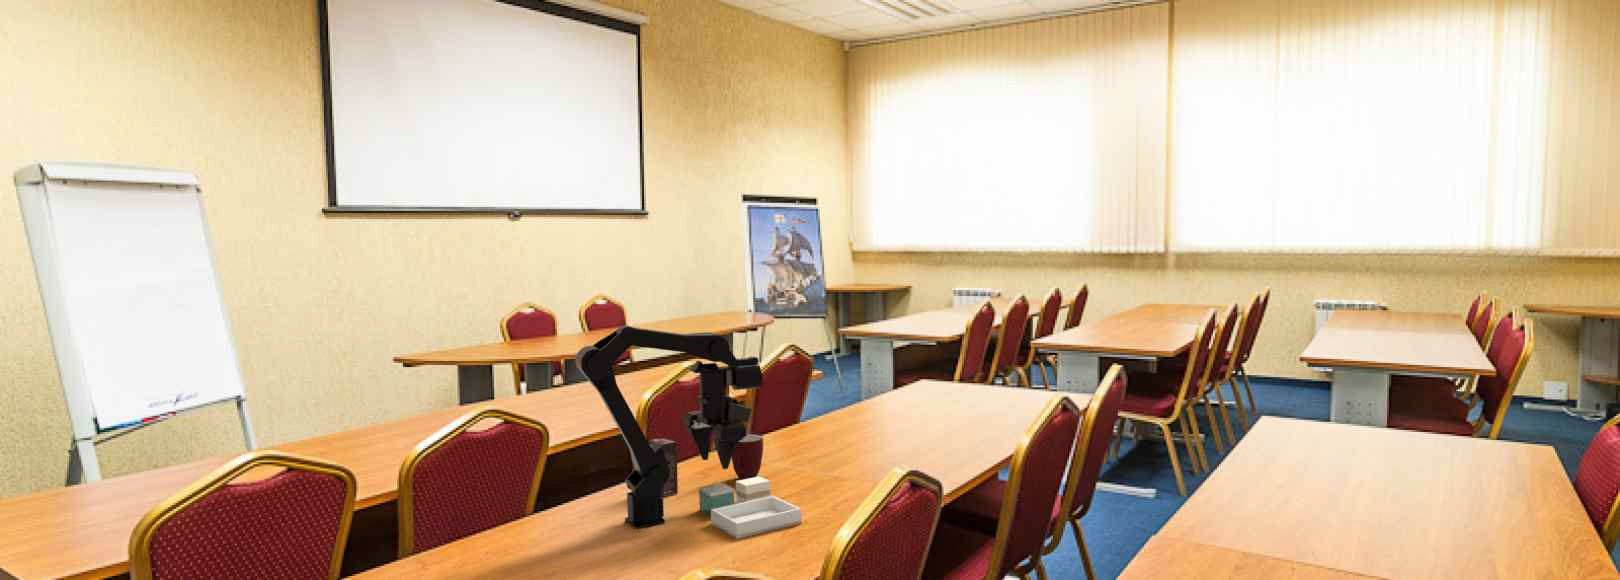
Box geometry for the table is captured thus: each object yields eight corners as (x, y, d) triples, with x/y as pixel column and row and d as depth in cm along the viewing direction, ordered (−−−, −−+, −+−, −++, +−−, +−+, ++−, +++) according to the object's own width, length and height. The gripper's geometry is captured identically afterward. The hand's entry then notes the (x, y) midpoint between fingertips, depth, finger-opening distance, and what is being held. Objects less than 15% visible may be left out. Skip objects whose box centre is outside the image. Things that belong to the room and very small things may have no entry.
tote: (737, 538, 172) (736, 523, 172) (711, 523, 181) (710, 509, 181) (801, 523, 180) (801, 508, 180) (773, 509, 189) (773, 496, 189)
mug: (756, 487, 207) (755, 444, 206) (723, 485, 208) (722, 444, 207) (767, 474, 217) (766, 434, 216) (735, 473, 218) (734, 433, 218)
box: (679, 493, 203) (677, 441, 202) (662, 497, 200) (660, 444, 199) (666, 487, 208) (664, 437, 207) (648, 491, 205) (647, 440, 204)
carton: (746, 508, 191) (745, 485, 191) (736, 503, 195) (735, 481, 195) (770, 503, 194) (769, 480, 194) (760, 498, 198) (759, 476, 198)
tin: (711, 517, 186) (710, 493, 185) (699, 510, 190) (698, 487, 190) (735, 511, 189) (734, 488, 189) (722, 505, 194) (721, 482, 193)
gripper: (768, 394, 185) (770, 467, 186) (726, 382, 200) (727, 450, 201) (721, 400, 179) (723, 476, 180) (681, 387, 194) (683, 457, 195)
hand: (715, 464), depth 189 cm, fingers open, 9 cm apart
